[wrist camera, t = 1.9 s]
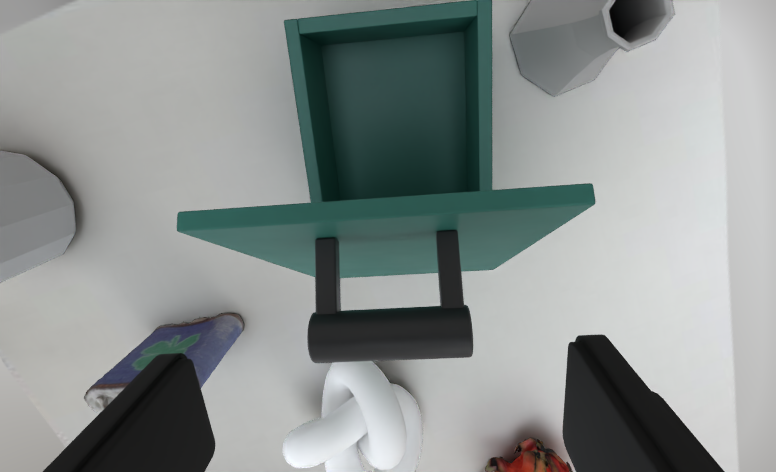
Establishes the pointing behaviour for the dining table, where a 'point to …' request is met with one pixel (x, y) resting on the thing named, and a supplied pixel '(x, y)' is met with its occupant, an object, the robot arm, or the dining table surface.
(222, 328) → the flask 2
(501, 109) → the dining table surface
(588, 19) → the flask
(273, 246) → the lunchbox lid
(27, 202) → the jar
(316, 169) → the box
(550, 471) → the dragon fruit
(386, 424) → the white decorative knot
